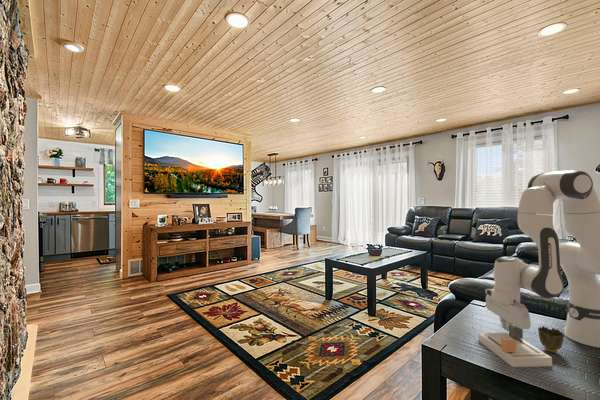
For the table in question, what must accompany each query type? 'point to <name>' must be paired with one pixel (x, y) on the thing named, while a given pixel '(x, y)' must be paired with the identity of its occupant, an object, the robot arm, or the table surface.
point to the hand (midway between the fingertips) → (506, 329)
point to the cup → (551, 339)
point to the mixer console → (524, 351)
